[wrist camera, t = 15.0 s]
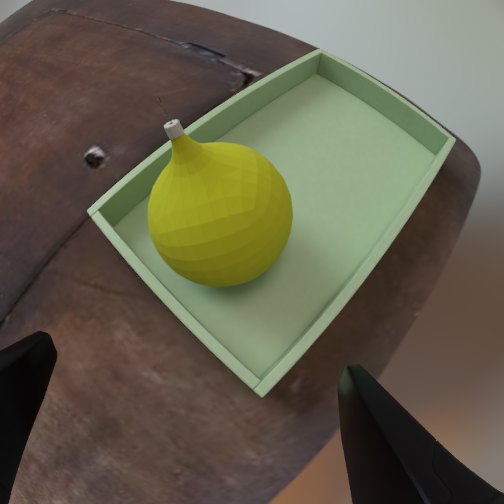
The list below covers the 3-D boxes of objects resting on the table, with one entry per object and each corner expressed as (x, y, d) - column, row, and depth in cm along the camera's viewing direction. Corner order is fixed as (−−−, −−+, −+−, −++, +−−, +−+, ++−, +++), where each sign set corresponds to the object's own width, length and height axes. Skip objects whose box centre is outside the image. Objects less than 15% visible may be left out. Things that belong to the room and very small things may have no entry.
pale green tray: (439, 160, 22) (456, 139, 19) (259, 392, 16) (262, 398, 13) (314, 73, 25) (319, 48, 22) (105, 231, 19) (86, 210, 16)
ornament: (173, 191, 20) (131, 69, 10) (282, 191, 20) (305, 64, 10) (161, 298, 17) (75, 222, 8) (285, 301, 17) (330, 224, 8)
